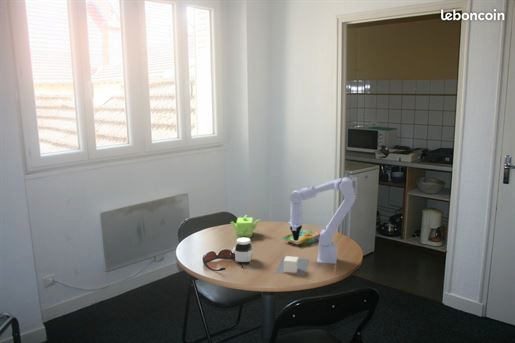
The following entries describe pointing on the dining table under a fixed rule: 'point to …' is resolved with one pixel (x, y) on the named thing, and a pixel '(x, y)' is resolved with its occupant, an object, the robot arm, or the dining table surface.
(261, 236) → the dining table surface
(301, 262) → the mat
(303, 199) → the robot arm
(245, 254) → the spread jar
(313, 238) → the colorful snack bag
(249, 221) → the kettle
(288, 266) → the cube
